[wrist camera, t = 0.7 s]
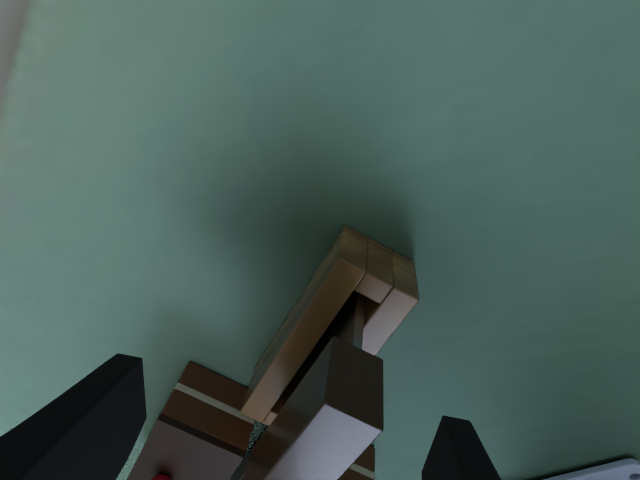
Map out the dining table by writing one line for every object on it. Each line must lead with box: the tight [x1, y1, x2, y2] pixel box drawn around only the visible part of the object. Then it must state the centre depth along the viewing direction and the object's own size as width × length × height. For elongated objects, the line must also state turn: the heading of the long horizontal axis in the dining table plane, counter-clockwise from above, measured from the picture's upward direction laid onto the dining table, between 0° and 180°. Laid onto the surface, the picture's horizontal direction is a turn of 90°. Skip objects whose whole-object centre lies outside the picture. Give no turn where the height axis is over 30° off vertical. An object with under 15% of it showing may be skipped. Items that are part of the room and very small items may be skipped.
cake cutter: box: [244, 290, 384, 480], centre depth 18 cm, size 2×7×8 cm, turn 152°
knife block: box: [240, 225, 419, 426], centre depth 21 cm, size 4×10×3 cm, turn 152°
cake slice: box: [127, 361, 255, 480], centre depth 24 cm, size 4×8×5 cm, turn 152°
